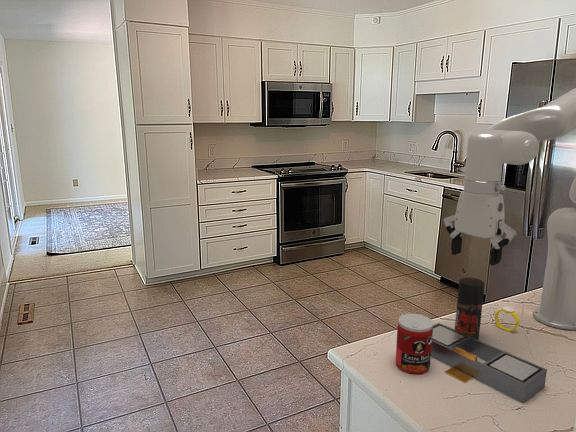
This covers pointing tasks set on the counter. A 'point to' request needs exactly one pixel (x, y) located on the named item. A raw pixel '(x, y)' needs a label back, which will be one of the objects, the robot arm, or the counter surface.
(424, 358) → the canned food
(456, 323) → the deodorant
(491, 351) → the rack
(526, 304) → the counter surface
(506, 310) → the watch
